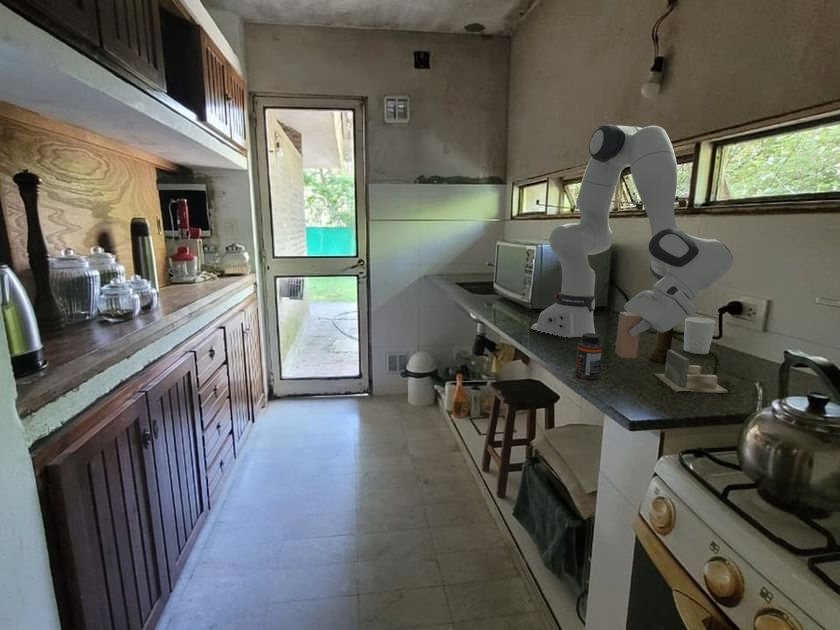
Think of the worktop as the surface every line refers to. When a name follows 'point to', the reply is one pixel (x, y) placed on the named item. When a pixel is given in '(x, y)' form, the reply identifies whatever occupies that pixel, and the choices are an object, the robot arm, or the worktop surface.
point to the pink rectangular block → (627, 335)
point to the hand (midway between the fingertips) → (626, 331)
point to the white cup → (698, 335)
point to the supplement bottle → (589, 356)
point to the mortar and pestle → (662, 346)
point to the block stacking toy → (687, 376)
